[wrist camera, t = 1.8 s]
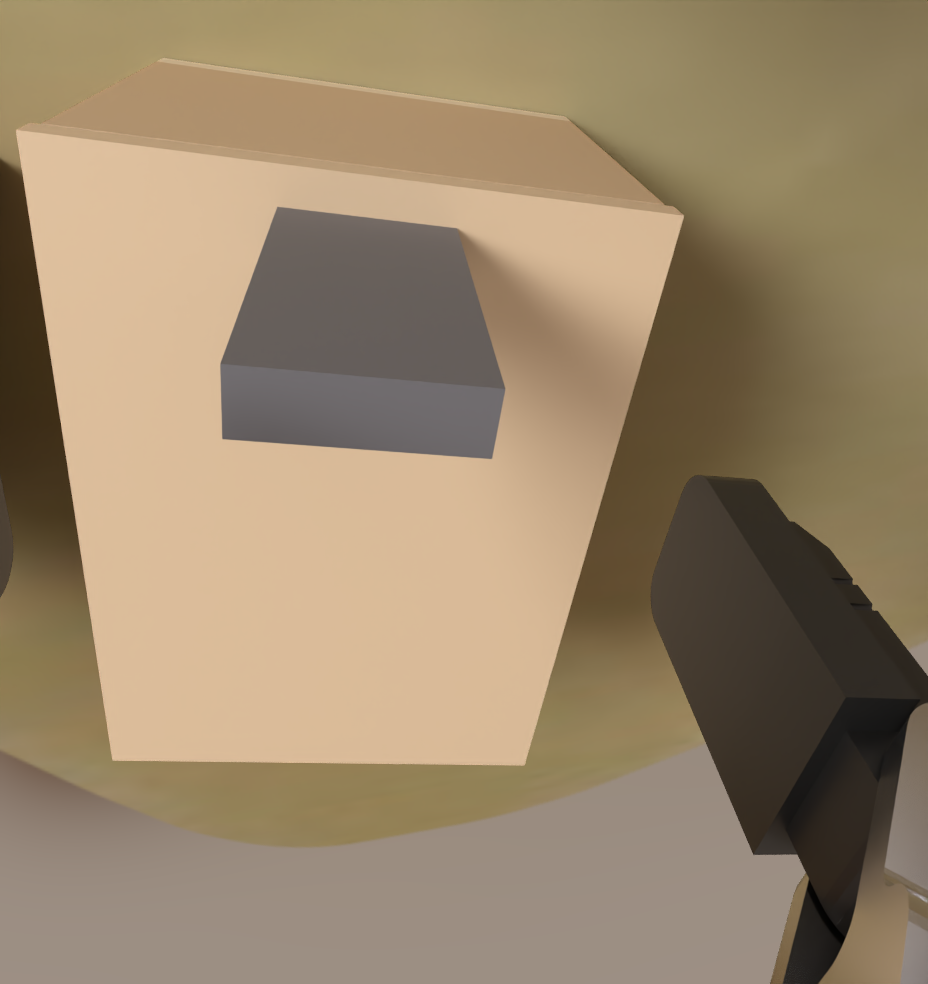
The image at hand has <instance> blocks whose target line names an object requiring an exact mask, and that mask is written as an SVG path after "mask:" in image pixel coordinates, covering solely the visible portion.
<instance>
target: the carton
mask: <svg viewBox="0 0 928 984" xmlns="http://www.w3.org/2000/svg"><path fill="white" fill-rule="evenodd" d="M42 124H43V125H51V126H59V127H66V128H74V129H82V130H89V131H97V132H105V133H112V134H120V135H128V136H136V137H143V138H151V139H159V140H166V141H174V142H182V143H189V144H197V145H205V146H212V147H220V148H228V149H235V150H243V151H251V152H259V153H266V154H274V155H282V156H289V157H297V158H305V159H312V160H320V161H328V162H335V163H343V164H351V165H358V166H366V167H374V168H382V169H389V170H397V171H405V172H412V173H420V174H428V175H435V176H443V177H451V178H458V179H466V180H474V181H481V182H489V183H497V184H505V185H512V186H520V187H528V188H535V189H543V190H551V191H558V192H566V193H574V194H581V195H589V196H597V197H604V198H612V199H620V200H628V201H635V202H643V203H651V204H658V205H664V204H663V203H662V202H661V201H660V200H659V199H658V198H657V197H656V196H654V195H653V194H652V193H651V192H650V191H649V190H648V189H646V188H645V187H644V186H643V185H642V184H641V183H640V182H639V181H637V180H636V179H635V178H634V177H633V176H632V175H631V174H630V173H628V172H627V171H626V170H625V169H624V168H623V167H622V166H621V165H619V164H618V163H617V162H616V161H615V160H614V159H613V158H612V157H610V156H609V155H608V154H607V153H606V152H605V151H604V150H602V149H601V148H600V147H599V146H598V145H597V144H596V143H595V142H593V141H592V140H591V139H590V138H589V137H588V136H587V135H586V134H584V133H583V132H582V131H581V130H580V129H579V128H578V127H577V126H575V125H574V124H573V123H572V122H571V121H570V120H569V119H567V118H566V117H565V116H559V115H552V114H545V113H538V112H531V111H525V110H518V109H511V108H504V107H497V106H490V105H483V104H477V103H470V102H463V101H456V100H449V99H442V98H435V97H429V96H422V95H415V94H408V93H401V92H394V91H387V90H380V89H374V88H367V87H360V86H353V85H346V84H339V83H332V82H326V81H319V80H312V79H305V78H298V77H291V76H284V75H278V74H271V73H264V72H257V71H250V70H243V69H236V68H230V67H223V66H216V65H209V64H202V63H195V62H188V61H182V60H175V59H168V58H162V59H160V60H158V61H156V62H154V63H153V64H151V65H149V66H147V67H145V68H143V69H141V70H140V71H138V72H136V73H134V74H132V75H130V76H128V77H126V78H125V79H123V80H121V81H119V82H117V83H115V84H113V85H112V86H110V87H108V88H106V89H104V90H102V91H100V92H99V93H97V94H95V95H93V96H91V97H89V98H87V99H86V100H84V101H82V102H80V103H78V104H76V105H74V106H73V107H71V108H69V109H67V110H65V111H63V112H61V113H60V114H58V115H56V116H54V117H52V118H50V119H48V120H47V121H45V122H43V123H42Z"/></svg>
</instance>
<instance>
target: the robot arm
mask: <svg viewBox="0 0 928 984" xmlns="http://www.w3.org/2000/svg"><path fill="white" fill-rule="evenodd" d="M12 561H13V536H12V530H11V525H10V520H9V516H8V511H7V506H6V501H5V496H4V491H3V486H2V481H1V476H0V597H1V596H2V594H3V592H4V590H5V588H6V585H7V583H8V580H9V576H10V572H11V568H12ZM852 580H853V578H852V577H851V576H850V575H849V573H848V572H847V571H846V569H845V568H844V567H843V566H842V564H841V563H840V562H839V560H838V559H837V558H836V556H835V555H834V554H833V553H832V551H831V550H830V549H829V548H828V547H827V546H825V545H824V544H823V543H821V542H820V541H819V540H817V539H816V538H815V537H813V536H812V535H811V534H810V533H808V532H807V531H806V530H804V529H803V528H802V527H800V526H799V525H798V524H796V523H795V522H790V521H789V520H788V519H787V517H786V516H785V515H784V513H783V512H782V511H781V509H780V508H779V507H778V505H777V504H776V502H775V501H774V500H773V498H772V497H771V496H770V494H769V493H768V492H767V490H766V489H765V488H764V486H763V485H762V484H761V483H760V482H759V481H757V480H754V479H743V478H730V477H717V476H703V475H696V476H694V477H692V478H691V479H690V480H689V481H688V482H687V484H686V485H685V487H684V489H683V492H682V494H681V497H680V500H679V503H678V505H677V508H676V511H675V514H674V517H673V520H672V522H671V525H670V528H669V531H668V534H667V536H666V539H665V542H664V545H663V548H662V551H661V553H660V556H659V559H658V562H657V565H656V568H655V571H654V574H653V578H652V584H651V608H652V614H653V618H654V621H655V624H656V626H657V629H658V631H659V633H660V636H661V638H662V640H663V643H664V645H665V647H666V650H667V652H668V655H669V657H670V659H671V662H672V664H673V666H674V669H675V671H676V673H677V676H678V678H679V680H680V683H681V685H682V688H683V690H684V692H685V695H686V697H687V699H688V702H689V704H690V706H691V709H692V711H693V713H694V716H695V718H696V721H697V723H698V725H699V728H700V730H701V732H702V735H703V737H704V739H705V742H706V744H707V746H708V749H709V751H710V753H711V756H712V758H713V760H714V763H715V765H716V767H717V770H718V772H719V775H720V777H721V779H722V782H723V784H724V786H725V789H726V791H727V794H728V795H729V798H730V801H731V803H732V805H733V808H734V810H735V812H736V815H737V817H738V819H739V821H740V824H741V826H742V829H743V831H744V833H745V836H746V838H747V841H748V843H749V845H750V848H751V850H752V852H753V854H754V855H777V854H779V855H780V854H798V857H799V859H800V861H801V863H802V865H803V867H804V869H805V871H806V873H805V875H804V876H803V878H802V879H801V881H800V882H799V884H798V885H797V887H796V890H795V892H794V895H793V900H792V903H791V907H790V911H789V914H788V918H787V922H786V925H785V929H784V933H783V937H782V941H781V944H780V948H779V952H778V956H777V959H776V963H775V967H774V971H773V975H772V978H771V982H770V984H928V676H927V675H926V673H925V672H924V671H923V669H922V668H921V667H920V666H919V664H918V663H917V662H916V660H915V659H914V658H913V656H912V655H911V654H910V652H909V651H908V650H907V649H906V647H905V646H904V645H903V643H902V642H901V641H900V639H899V638H898V637H897V636H896V634H895V633H894V632H893V630H892V629H891V628H890V626H889V625H888V624H887V623H886V621H885V620H884V619H883V617H882V616H881V615H880V614H879V612H878V611H872V603H871V602H870V601H869V599H868V598H867V597H866V595H865V594H864V593H863V591H862V590H861V589H860V588H859V586H858V585H853V584H852Z"/></svg>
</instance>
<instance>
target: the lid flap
mask: <svg viewBox="0 0 928 984" xmlns="http://www.w3.org/2000/svg"><path fill="white" fill-rule="evenodd" d="M16 134H17V141H18V147H19V154H20V160H21V167H22V173H23V180H24V186H25V193H26V199H27V206H28V212H29V219H30V225H31V232H32V238H33V245H34V251H35V258H36V264H37V271H38V277H39V284H40V291H41V297H42V304H43V310H44V317H45V323H46V330H47V336H48V343H49V349H50V356H51V362H52V369H53V375H54V382H55V388H56V395H57V401H58V408H59V414H60V421H61V427H62V434H63V440H64V447H65V453H66V460H67V466H68V473H69V479H70V486H71V492H72V499H73V505H74V512H75V519H76V525H77V532H78V538H79V545H80V551H81V558H82V564H83V571H84V577H85V584H86V590H87V597H88V603H89V610H90V616H91V623H92V629H93V636H94V642H95V649H96V655H97V662H98V668H99V675H100V681H101V688H102V694H103V701H104V707H105V714H106V720H107V727H108V733H109V740H110V746H111V753H112V760H117V761H201V762H285V763H370V764H454V765H525V762H526V758H527V755H528V751H529V748H530V744H531V741H532V737H533V734H534V731H535V727H536V724H537V720H538V717H539V713H540V710H541V707H542V703H543V700H544V696H545V693H546V689H547V686H548V682H549V679H550V676H551V672H552V669H553V665H554V662H555V658H556V655H557V652H558V648H559V645H560V641H561V638H562V634H563V631H564V627H565V624H566V621H567V617H568V614H569V610H570V607H571V603H572V600H573V597H574V593H575V590H576V586H577V583H578V579H579V576H580V572H581V569H582V566H583V562H584V559H585V555H586V552H587V548H588V545H589V542H590V538H591V535H592V531H593V528H594V524H595V521H596V517H597V514H598V511H599V507H600V504H601V500H602V497H603V493H604V490H605V486H606V483H607V480H608V476H609V473H610V469H611V466H612V462H613V459H614V456H615V452H616V449H617V445H618V442H619V438H620V435H621V431H622V428H623V425H624V421H625V418H626V414H627V411H628V407H629V404H630V401H631V397H632V394H633V390H634V387H635V383H636V380H637V376H638V373H639V370H640V366H641V363H642V359H643V356H644V352H645V349H646V346H647V342H648V339H649V335H650V332H651V328H652V325H653V321H654V318H655V315H656V311H657V308H658V304H659V301H660V297H661V294H662V291H663V287H664V284H665V280H666V277H667V273H668V270H669V266H670V263H671V260H672V256H673V253H674V249H675V246H676V242H677V239H678V235H679V232H680V229H681V225H682V222H683V218H684V215H683V214H682V213H680V212H679V211H678V210H677V209H676V208H675V207H674V206H666V205H658V204H651V203H643V202H635V201H628V200H620V199H612V198H604V197H597V196H589V195H581V194H574V193H566V192H558V191H551V190H543V189H535V188H528V187H520V186H512V185H505V184H497V183H489V182H481V181H474V180H466V179H458V178H451V177H443V176H435V175H428V174H420V173H412V172H405V171H397V170H389V169H382V168H374V167H366V166H358V165H351V164H343V163H335V162H328V161H320V160H312V159H305V158H297V157H289V156H282V155H274V154H266V153H259V152H251V151H243V150H235V149H228V148H220V147H212V146H205V145H197V144H189V143H182V142H174V141H166V140H159V139H151V138H143V137H136V136H128V135H120V134H112V133H105V132H97V131H89V130H82V129H74V128H66V127H59V126H51V125H43V124H36V123H28V124H26V125H24V126H22V127H21V128H19V129H17V130H16Z"/></svg>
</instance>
